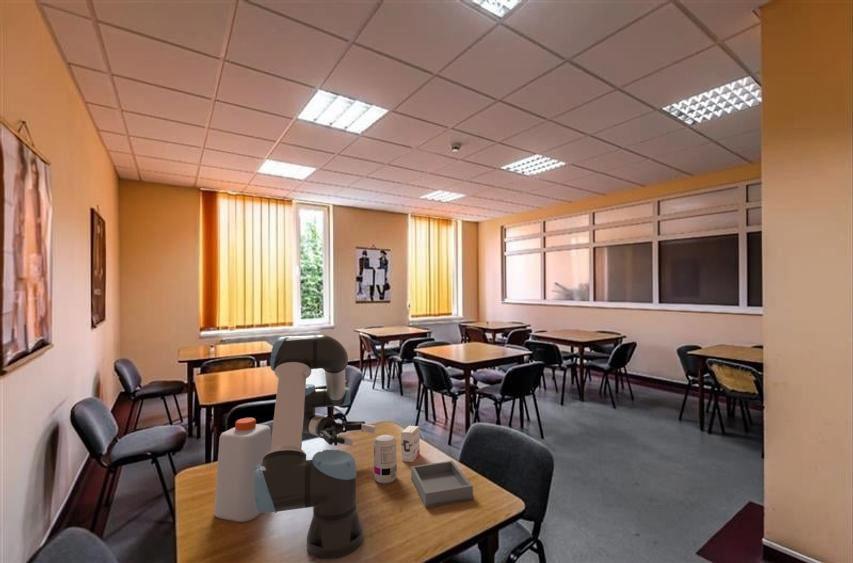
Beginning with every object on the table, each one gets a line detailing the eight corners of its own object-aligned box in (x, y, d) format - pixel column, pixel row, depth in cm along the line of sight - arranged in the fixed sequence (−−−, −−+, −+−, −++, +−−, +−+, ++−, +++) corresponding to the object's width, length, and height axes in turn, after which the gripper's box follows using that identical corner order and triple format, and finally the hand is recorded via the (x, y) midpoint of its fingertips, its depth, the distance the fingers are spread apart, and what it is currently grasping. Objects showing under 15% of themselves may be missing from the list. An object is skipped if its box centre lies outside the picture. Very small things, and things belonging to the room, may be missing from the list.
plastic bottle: (281, 499, 128) (280, 414, 129) (248, 526, 113) (247, 430, 114) (244, 493, 132) (243, 411, 133) (207, 518, 118) (207, 426, 119)
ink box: (409, 452, 164) (408, 424, 164) (420, 454, 162) (419, 425, 162) (401, 461, 156) (400, 431, 156) (412, 462, 154) (412, 432, 154)
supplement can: (370, 482, 138) (370, 440, 139) (379, 472, 146) (379, 432, 146) (391, 485, 136) (390, 442, 136) (399, 475, 144) (399, 434, 144)
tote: (472, 499, 125) (472, 485, 125) (425, 508, 121) (425, 493, 121) (452, 472, 145) (452, 460, 145) (411, 478, 140) (411, 466, 140)
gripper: (344, 426, 168) (383, 434, 157) (299, 447, 146) (341, 458, 136) (343, 408, 168) (383, 416, 157) (299, 427, 146) (341, 437, 136)
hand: (364, 435), depth 146 cm, fingers open, 13 cm apart
